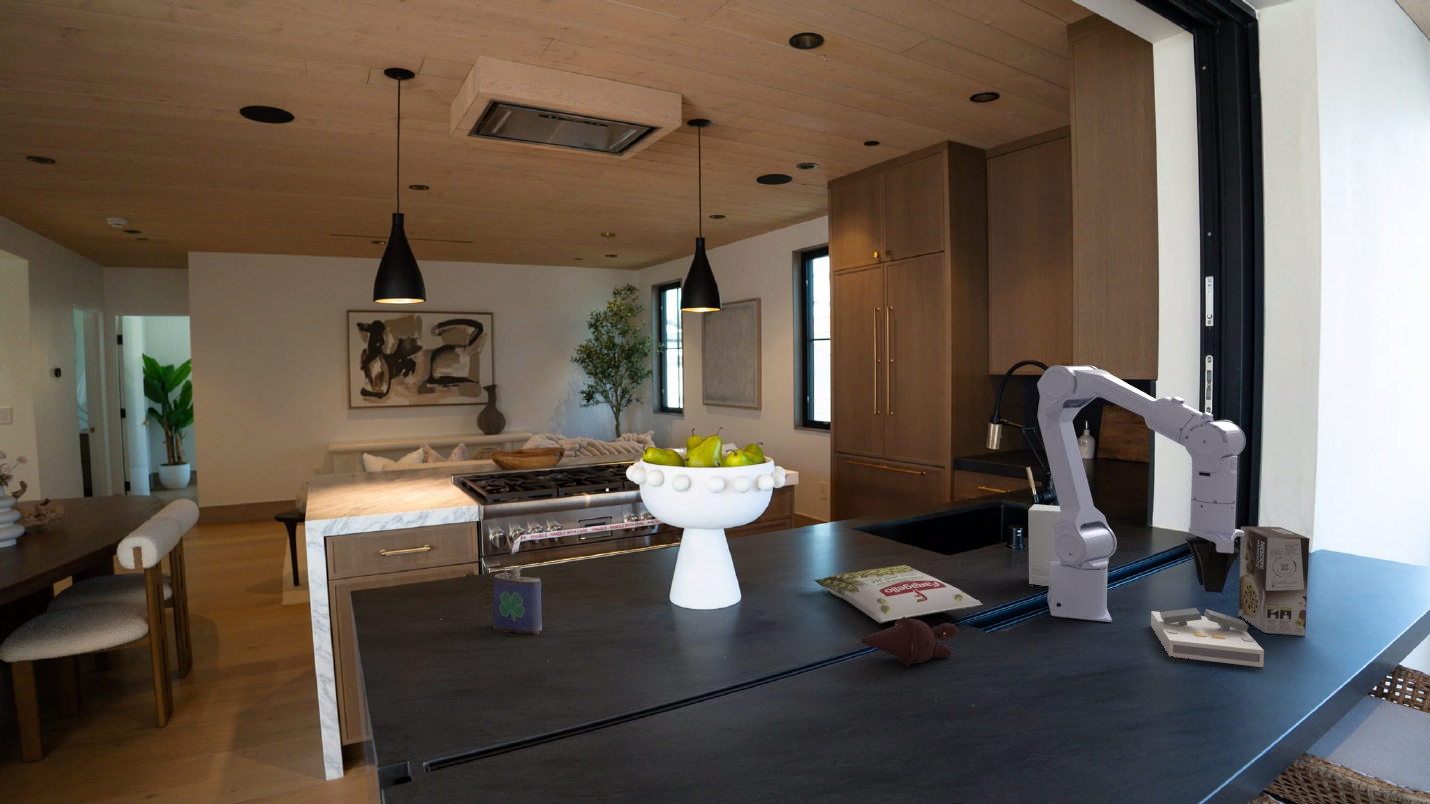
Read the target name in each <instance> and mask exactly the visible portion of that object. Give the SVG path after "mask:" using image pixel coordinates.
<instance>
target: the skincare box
mask: <svg viewBox="0 0 1430 804" xmlns="http://www.w3.org/2000/svg"><path fill="white" fill-rule="evenodd" d="M1027 511H1028V513H1027V515H1028V521H1027V523H1028V524H1027V525H1028V585H1029V584H1036V585H1041V586H1040V587H1042V586H1049V566H1050V562H1051V561H1055V562H1059V561H1061V559H1060V558H1059V557H1058V556H1057V554H1056V552H1055V549H1054V538H1055V529H1054V522H1055V521H1056V519H1057V517H1058V516H1059V514H1060V512H1061V510H1060V506H1059V505H1050V504H1049V505H1047V504H1038V503H1037V504H1036V503H1035V504H1034V503H1033V505H1031V507H1030V508H1029V509H1028V510H1027Z"/></svg>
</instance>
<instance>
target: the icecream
mask: <svg viewBox="0 0 1430 804" xmlns="http://www.w3.org/2000/svg"><path fill="white" fill-rule="evenodd" d="M893 624H894V625H893V626H891V627H888V628H886V629H883V630H880V631H878V632H876V633H873V634H870V635H867V636H864V637H862V638H861V639H860V643H862V644H864V645H866V646H869V647H872V648H874V649H876V650H878V651H879V650H880V651H883V652H885V653H886V654H890V655H892V656H895V657H898V660H899V661H900V662H901V663H903V664H904V665H905V666H906V667H910V666H911V665H912V664H921V663H925V662H927V661H928V660H929V659H931V657H932V658H933V657H934V658H936V659H947V658H949V657H951V656H952V654H953V653H952V649H951V648H950V647H949V646H947V645H945V644H943V643H939V642H938V641H936V640H941V641H944V640H948V639H952V638H954V637H955V636H956V635H957V634H958V633H959V630H958V629H959V628H958V627H957V626H956V625H955V624H953V623H951V622H950V623H946V622H945V623H940V624H939V625H938V626H937V625H936V626H934V627H932V628H931V627H930V626H929V625H928V624H927V623H925V622H924V621H922V620H920V619H916V618H915V619H914V618H912V617H910V618H906V617H902V618H901V619H897V620H896V621H895V622H894V623H893Z"/></svg>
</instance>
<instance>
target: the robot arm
mask: <svg viewBox="0 0 1430 804" xmlns="http://www.w3.org/2000/svg"><path fill="white" fill-rule="evenodd" d="M1036 385H1037V390H1038V393H1039V402H1038V408H1037V409H1038V410H1037V420H1038V424H1039V429H1040V432H1041V437H1042V441H1043V444H1044V449H1045V453H1046V456H1047V462H1048V465H1049V469H1050V473H1051V477H1052V481H1053V485H1054V486H1053V487H1054V489H1055V493H1056V498H1057V503H1058V506H1060V510H1061V512H1060V514H1059V516H1058V517H1057V519H1056V521H1055V522H1054V529H1055V538H1054V549H1055V552H1056V554H1057V556H1058V557H1059V558H1060V559H1061V561H1059V562H1055V561H1051V562H1050V566H1049V587H1048V592H1047V595H1046V596H1047V598H1046V599H1047V603H1048V607H1049V613H1050V615H1051V616H1052V617H1059V618H1068V619H1069V618H1070V619H1077V620H1087V621H1095V622H1096V621H1097V622H1106V623H1107V622H1108V623H1112V621H1113V619H1112V617H1111V615H1110V613H1109V611H1108V608H1107V604H1108V603H1107V601H1108V599H1107V597H1108V565H1109V562H1110V561H1109V560H1110V557H1112V556H1113V555H1114V553H1115V552H1116V551H1117V546H1118V543H1117V540H1118V539H1117V537H1116V535H1115V533H1114V531H1113V530H1112V529H1111V528H1110V526H1109V524H1108V522H1107V519H1106V516H1105V514H1103V513H1102V512H1101V511H1100V510H1099V509H1097V508H1096V507H1095V506H1094V502H1093V501H1094V500H1093V497H1092V493H1091V490H1090V486H1089V482H1088V481H1089V480H1088V478H1087V477H1088V476H1087V474H1086V470H1085V466H1084V462H1083V458H1082V454H1081V451H1080V446H1079V442H1078V438H1077V435H1076V431H1075V427H1074V424H1073V423H1074V422H1073V421H1074V419H1075V417H1076V416H1077V414H1078V413H1079V412H1080V411H1081V410H1082V408H1084V407H1085V406H1087V405H1088V404H1089V403H1091V402H1092V401H1093V400H1094V399H1096V398H1102V399H1104V400H1106V401H1109V402H1111V403H1113V404H1115V405H1118V406H1120V407H1122V408H1123V409H1125V410H1129V411H1131V412H1133V413H1135V414H1137V415H1139V416H1141V417H1143V419H1144V422H1145V424H1146V426H1147V428H1148V429H1150V430H1152V431H1154V432H1156V433H1157V434H1160V435H1162V436H1163V437H1166V438H1168V440H1171V441H1173V442H1175V443H1177V444H1179V445H1180V446H1183V447H1184V448H1185V449H1186V450H1185V451H1187V453H1188V455H1189V457H1190V458H1191V487H1190V488H1191V489H1190V491H1191V495H1190V519H1189V521H1190V524H1189V526H1188V530H1187V531H1188V533H1189V534H1192V535H1194V536H1196V537H1192V536H1190V537H1189V536H1187V537H1185V542H1186V543H1187V545H1188V547H1189V549H1190V552H1191V554H1192V558H1193V561H1194V566H1195V567H1194V568H1195V572H1196V577H1197V580H1198V585H1199V586H1203V588H1204V591H1205V592H1207V593H1216V594H1222V593H1223V591H1224V589H1225V585H1226V581H1227V579H1228V575H1229V572H1230V570H1231V567H1232V566H1233V565H1234V562H1235V561H1236V560H1237V558H1238V557H1240V550H1239V549H1238V548H1235V539H1236V538H1238V537H1240V538H1241V537H1243V536H1244V531H1242V530H1241V529H1237V528H1236V515H1237V514H1236V513H1237V512H1236V511H1237V509H1236V507H1237V490H1238V489H1237V488H1238V487H1237V486H1238V455H1239V454H1241V453H1242V452H1243V450H1244V449H1245V447H1246V442H1247V441H1246V435H1245V432H1244V431H1243V429H1241V427H1239V425H1237V424H1235V423H1234V422H1233V421H1232V420H1228V419H1219V420H1214V418H1213V417H1214V414H1212V413H1209V412H1207V411H1206V412H1201V411H1199V410H1196V409H1194V408H1193V407H1190V406H1189V405H1186V404H1184V402H1185V399H1183V398H1181V397H1179V396H1172V397H1169V396H1164V397H1161V398H1158V399H1156V398H1154V397H1152V396H1150V395H1148V394H1147V393H1146V392H1144V391H1141V390H1140V389H1138V388H1136V387H1134V386H1133V385H1130V384H1128V383H1127V382H1125V381H1124V380H1122V379H1119V378H1118V377H1116V376H1115V375H1113V374H1111V373H1110V372H1109V371H1107V370H1104V369H1099V368H1098V367H1095V366H1093V365H1089V364H1084V365H1061V364H1059V365H1058V364H1057V365H1056V364H1055V365H1052V366H1050V367H1048V368H1047V369H1046V370H1045V371H1044V373H1043V374H1042V376H1041V377H1040V378H1039V380H1038V381H1037V383H1036Z"/></svg>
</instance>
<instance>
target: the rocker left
mask: <svg viewBox="0 0 1430 804" xmlns="http://www.w3.org/2000/svg"><path fill="white" fill-rule="evenodd" d="M1159 612H1160V615H1161V619H1162V620H1163V622H1164V623H1165V624H1167V623H1176V622H1178V623H1179V625H1180V626H1183V625H1187V621H1194V620H1202V618H1201V616H1202V614H1201V612H1200V611H1199V610H1198V609H1197V607H1194V608H1185V609H1184V608H1183V609H1175V610H1174V609H1173V610H1168V611H1166V610H1165V611H1159Z"/></svg>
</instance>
